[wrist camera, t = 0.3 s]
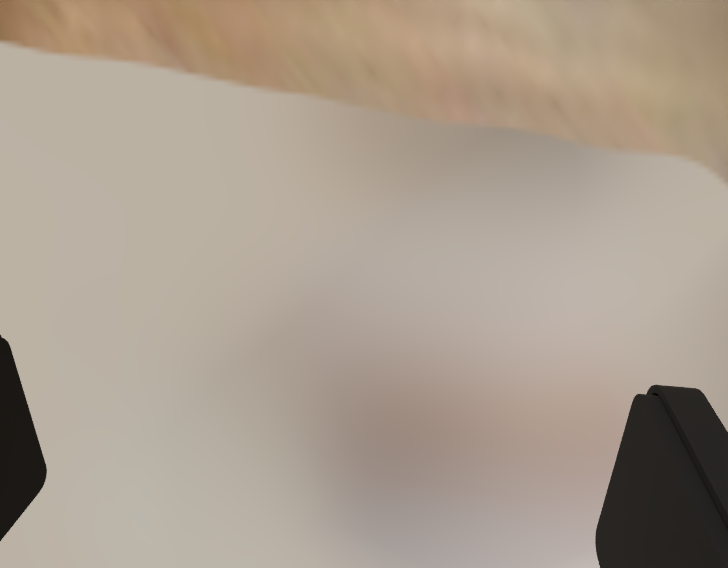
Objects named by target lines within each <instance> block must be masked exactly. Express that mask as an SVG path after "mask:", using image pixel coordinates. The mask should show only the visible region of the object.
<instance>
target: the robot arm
mask: <svg viewBox="0 0 728 568" xmlns="http://www.w3.org/2000/svg"><path fill="white" fill-rule="evenodd" d="M46 473H47V469H46V464H45V461H44V457H43V454H42V451H41V447H40V444H39V441H38V438H37V434H36V431H35V428H34V424H33V421H32V418H31V414H30V411H29V408H28V404H27V401H26V398H25V394H24V391H23V388H22V384H21V381H20V378H19V375H18V371H17V368H16V365H15V361H14V358H13V355H12V351H11V348H10V345H9V343H8V342H7V341H6V340H5V339H4V338H2V337H1V335H0V541H1V539H2V538H3V537H4V536H5V535H6V533H7V532H8V531H9V530H10V528H11V527H12V526H13V525H14V523H15V522H16V521H17V520H18V518H19V517H20V516H21V514H22V513H23V512H24V511H25V509H26V508H27V507H28V506H29V504H30V503H31V502H32V501H33V499H34V498H35V497H36V496H37V494H38V493H39V492H40V490H41V489H42V487H43V485H44V482H45V479H46ZM596 552H597V557H598V561H599V565H600V568H728V432H727V431H726V429H725V427H724V426H723V424H722V423H721V421H720V419H719V418H718V416H717V415H716V413H715V411H714V410H713V408H712V406H711V405H710V403H709V402H708V400H707V398H706V397H705V395H704V394H703V393H702V392H701V391H700V390H698V389H696V388H684V387H673V386H661V385H653V386H651V387H650V389H649V390H648V392H647V394H646V395H644V394H638V395H636V396H635V398H634V400H633V402H632V405H631V409H630V412H629V416H628V419H627V423H626V427H625V430H624V433H623V437H622V441H621V444H620V448H619V451H618V455H617V458H616V462H615V465H614V469H613V472H612V476H611V480H610V483H609V486H608V490H607V494H606V497H605V500H604V504H603V508H602V511H601V515H600V518H599V522H598V525H597V529H596Z"/></svg>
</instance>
